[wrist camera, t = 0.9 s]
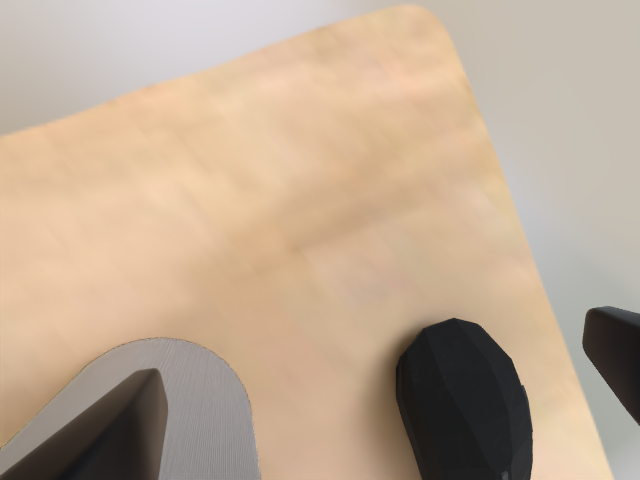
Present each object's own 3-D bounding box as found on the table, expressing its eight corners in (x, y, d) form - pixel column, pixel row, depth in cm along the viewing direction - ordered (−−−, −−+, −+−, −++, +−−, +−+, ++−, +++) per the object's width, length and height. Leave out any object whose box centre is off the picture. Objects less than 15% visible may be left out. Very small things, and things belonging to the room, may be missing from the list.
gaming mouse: (445, 586, 24) (487, 654, 21) (377, 338, 23) (408, 360, 19) (540, 539, 26) (596, 595, 22) (479, 301, 25) (528, 315, 21)
